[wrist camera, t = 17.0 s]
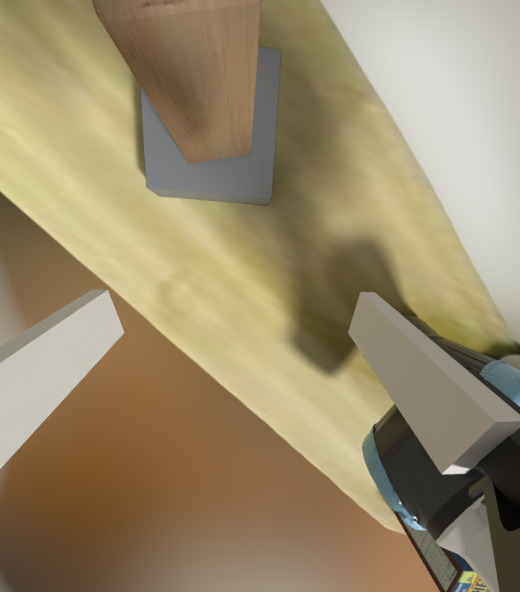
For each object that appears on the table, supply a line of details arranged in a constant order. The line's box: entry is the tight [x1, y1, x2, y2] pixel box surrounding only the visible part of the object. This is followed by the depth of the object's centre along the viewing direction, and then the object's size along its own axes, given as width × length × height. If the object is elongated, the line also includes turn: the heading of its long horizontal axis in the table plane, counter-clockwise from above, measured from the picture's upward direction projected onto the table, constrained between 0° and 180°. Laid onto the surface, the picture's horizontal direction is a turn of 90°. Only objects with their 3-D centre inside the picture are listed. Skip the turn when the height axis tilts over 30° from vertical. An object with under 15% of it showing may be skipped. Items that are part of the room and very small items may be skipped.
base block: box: [140, 46, 281, 205], centre depth 32 cm, size 20×20×5 cm
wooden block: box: [92, 0, 261, 164], centre depth 20 cm, size 10×10×20 cm
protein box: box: [396, 512, 491, 592], centre depth 52 cm, size 10×15×16 cm
